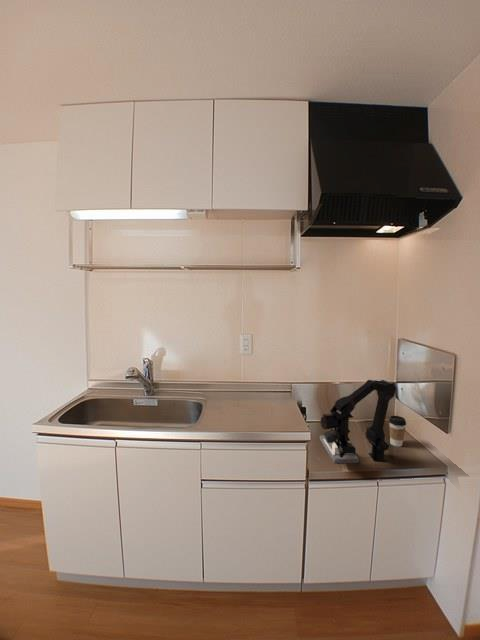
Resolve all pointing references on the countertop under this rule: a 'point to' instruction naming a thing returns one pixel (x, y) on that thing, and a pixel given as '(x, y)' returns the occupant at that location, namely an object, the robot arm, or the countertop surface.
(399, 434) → the coffee cup
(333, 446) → the slider knob
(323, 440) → the control panel
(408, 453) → the countertop surface
